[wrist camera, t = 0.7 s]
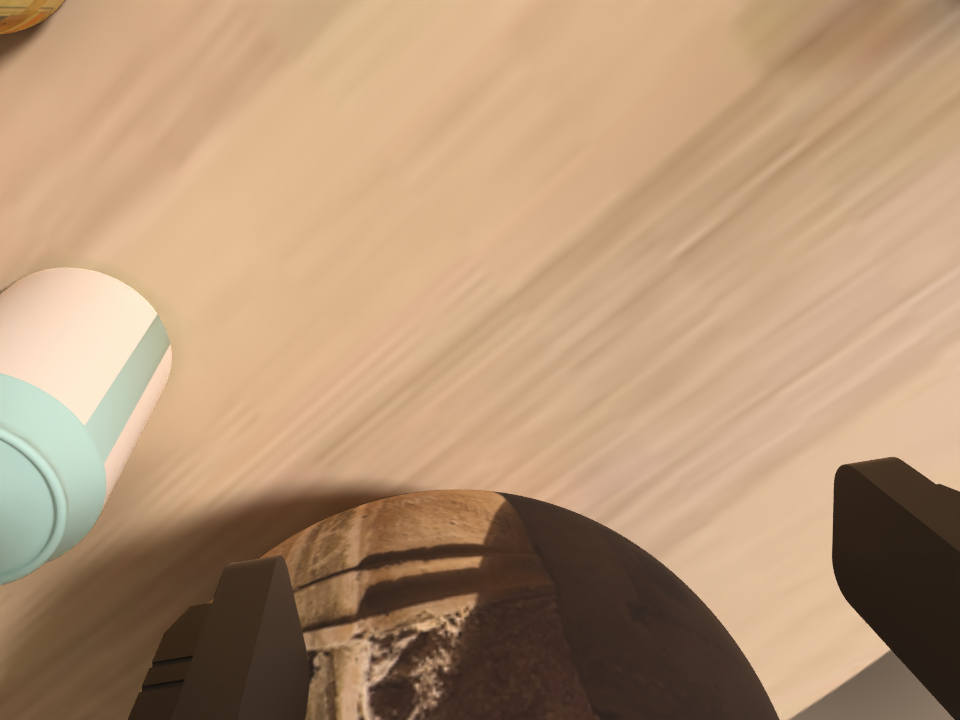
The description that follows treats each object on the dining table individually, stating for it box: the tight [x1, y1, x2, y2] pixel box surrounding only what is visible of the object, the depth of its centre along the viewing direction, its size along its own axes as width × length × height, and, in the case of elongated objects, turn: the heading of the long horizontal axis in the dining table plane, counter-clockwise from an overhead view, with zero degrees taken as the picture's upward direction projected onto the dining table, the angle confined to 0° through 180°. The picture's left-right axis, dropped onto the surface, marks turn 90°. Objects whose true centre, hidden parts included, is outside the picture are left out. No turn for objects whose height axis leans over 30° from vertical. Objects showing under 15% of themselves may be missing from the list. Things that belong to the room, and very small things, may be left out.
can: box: [0, 267, 172, 585], centre depth 28 cm, size 7×7×12 cm
